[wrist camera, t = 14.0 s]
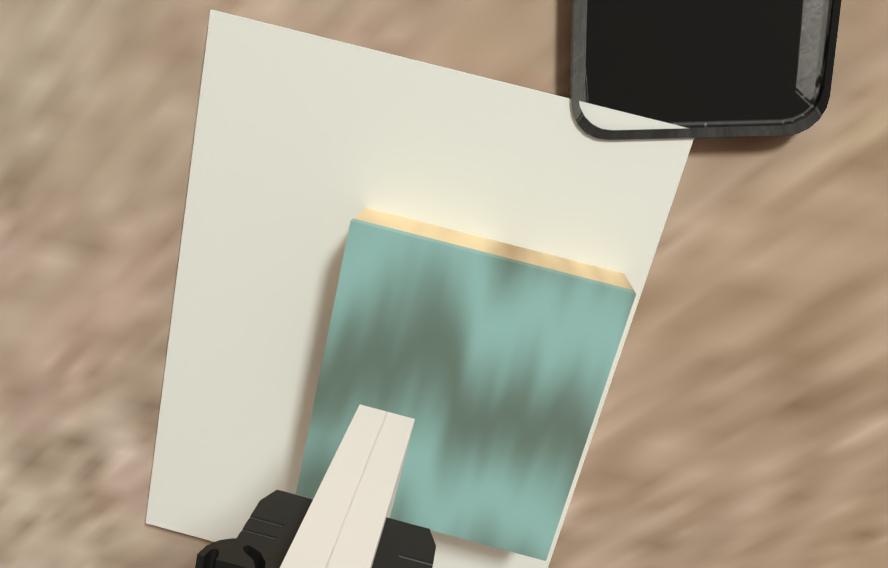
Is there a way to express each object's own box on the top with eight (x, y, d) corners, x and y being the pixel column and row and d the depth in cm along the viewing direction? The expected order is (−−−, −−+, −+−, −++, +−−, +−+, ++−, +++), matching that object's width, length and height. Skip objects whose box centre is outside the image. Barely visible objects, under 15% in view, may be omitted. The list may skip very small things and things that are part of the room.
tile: (350, 220, 21) (635, 294, 21) (366, 207, 23) (623, 273, 23) (295, 493, 24) (546, 561, 24) (314, 458, 26) (543, 519, 26)
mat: (153, 514, 28) (145, 523, 28) (218, 11, 23) (210, 9, 22) (527, 615, 28) (527, 626, 27) (692, 129, 22) (696, 130, 22)
